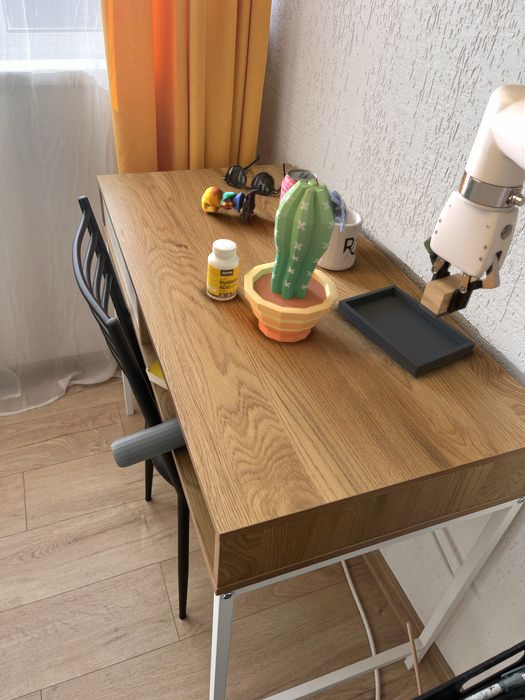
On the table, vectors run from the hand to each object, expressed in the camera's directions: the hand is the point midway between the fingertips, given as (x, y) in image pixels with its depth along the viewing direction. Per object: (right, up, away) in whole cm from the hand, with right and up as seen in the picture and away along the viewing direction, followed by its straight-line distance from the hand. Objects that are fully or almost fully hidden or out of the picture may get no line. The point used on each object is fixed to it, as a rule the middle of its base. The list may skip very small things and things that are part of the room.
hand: (444, 301), depth 81 cm
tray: (-4, -4, +10) cm, 11 cm away
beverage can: (-21, +20, +37) cm, 47 cm away
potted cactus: (-25, -3, +8) cm, 26 cm away
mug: (-13, +12, +28) cm, 33 cm away
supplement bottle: (-36, +3, +14) cm, 38 cm away
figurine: (-36, +23, +38) cm, 57 cm away
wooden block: (0, -1, +1) cm, 1 cm away
